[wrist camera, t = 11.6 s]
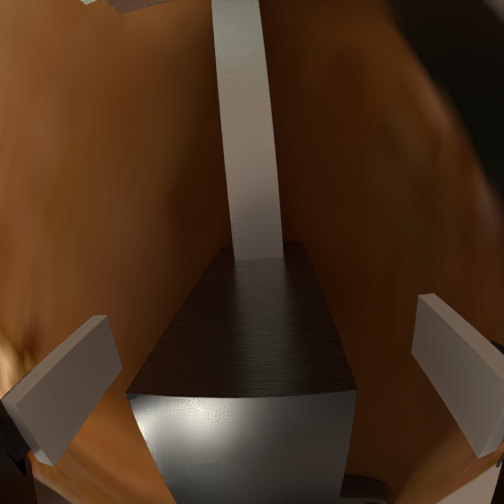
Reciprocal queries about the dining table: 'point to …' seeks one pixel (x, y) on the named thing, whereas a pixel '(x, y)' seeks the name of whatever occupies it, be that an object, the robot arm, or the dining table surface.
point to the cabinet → (87, 1)
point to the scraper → (248, 327)
